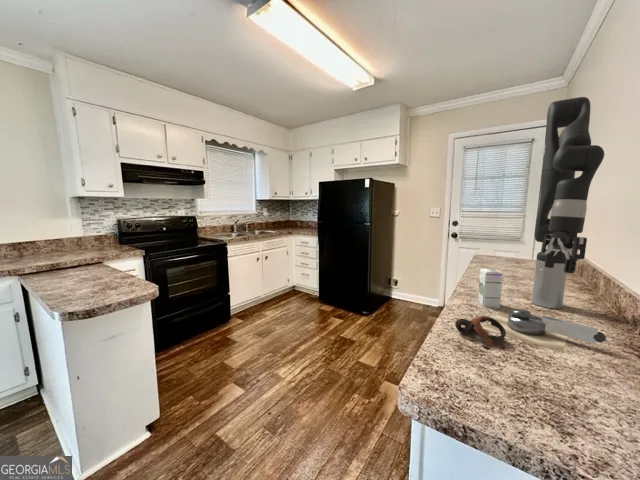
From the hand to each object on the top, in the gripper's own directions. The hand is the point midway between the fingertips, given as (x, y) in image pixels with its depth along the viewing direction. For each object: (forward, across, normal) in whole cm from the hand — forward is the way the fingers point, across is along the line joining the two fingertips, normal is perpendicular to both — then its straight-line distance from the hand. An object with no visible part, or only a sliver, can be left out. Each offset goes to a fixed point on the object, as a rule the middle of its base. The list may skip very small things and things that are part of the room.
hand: (558, 270), depth 81 cm
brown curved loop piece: (+21, -11, +24) cm, 34 cm away
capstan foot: (+18, -8, +4) cm, 20 cm away
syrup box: (+19, +16, +10) cm, 27 cm away
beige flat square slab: (+20, -4, +8) cm, 22 cm away
